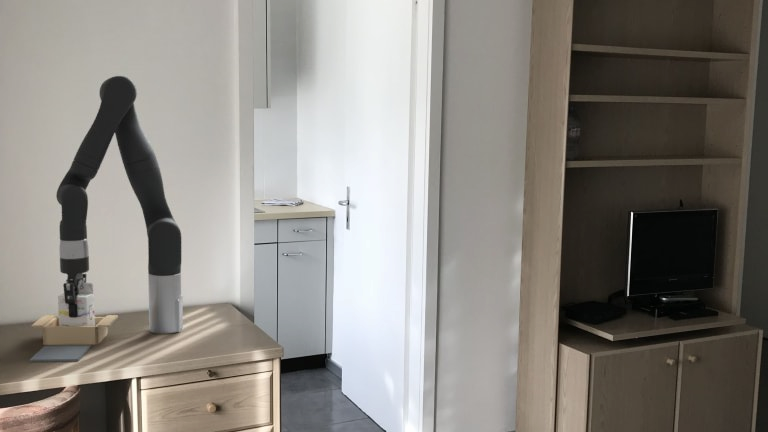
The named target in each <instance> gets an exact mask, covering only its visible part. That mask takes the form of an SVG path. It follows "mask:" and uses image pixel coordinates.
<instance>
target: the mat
mask: <svg viewBox="0 0 768 432" xmlns="http://www.w3.org/2000/svg"><path fill="white" fill-rule="evenodd" d="M91 348H92V346H91V345H44V346H43V347H42V348H41V349H40V350H38V351H37V352H36V353H35V354H34V355H33V356H32V357H31V358H30V359H29V363H31V362H38V363H40V362H41V363H42V362H43V363H44V362H47V363H48V362H79V361H80V360H81V359H82V358H83V356H85V355H86V353H87V352H89V350H90V349H91Z"/></svg>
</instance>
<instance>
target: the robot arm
mask: <svg viewBox="0 0 768 432" xmlns="http://www.w3.org/2000/svg"><path fill="white" fill-rule="evenodd" d="M137 95H138V92H137V88H136V84H135V83H134V82H133V80H131V79H130V78H128V77H126V76H123V75H116V76H112V77H109V78H107V79H106V80H104V81H103V82H102V83H101V86H100V88H99V97H100V98H99V99H100V101H101V102H100V106H99V108H98V111H97V114H96V116H95V118H94V121H93V123H92V124H91V126H90V128H89V129H88V131H87V133H86V134H85V136H84V137H83V140H82V141H81V143H80V145H79V148H78V149H77V151H76V154H75V155H74V158H73V161H72V162H71V165H70V167H69V169H68V171H67V172H66V173H65V175H64V177H63V178H62V181H61V182H60V183H59V185H58V188H57V190H56V197H55V198H56V200H57V202H58V204H59V205H61V220H60V222H59V248H58V249H59V267H60V268H59V270H60V271H59V272H61V274H64V275H67V279H66V281H65V282H64V283H63V285H62V286H63V293H64V296H65V303H66V304H68V306H69V317H71V318H73V317H77V316H78V307H77V303H78V299H77V297H78V296H79V295H80V290H81V289H84V287H83V284H84V283H87V272H89V270H90V258H89V257H90V256H89V254H90V253H89V244H88V230H87V228H88V227H87V217H88V211H89V210H88V207H89V197H88V193H87V191H86V190H87V188H88V186H89V183H90V182H91V181H92V180H93V179H94V178H95V177H96V176H97V174H98V172H99V170H100V168H101V165H102V164H103V161H104V158H105V157H106V153H107V152H108V149H109V147H110V144H111V142H112V139H113V138H114V136H115V138H116V143H117V147H118V150H119V153H120V154H119V155H120V157H121V160H122V165H123V168H124V170H125V174H126V177H127V179H128V181H129V183H130V186H131V188H132V191H133V192H134V194H135V196H136V198H137V200H138V202H139V205H140V207H141V210H142V214H143V218H144V223H145V229H146V235H147V243H148V246H147V247H148V250H147V251H148V252H147V253H148V254H147V255H148V257H147V258H148V260H147V261H148V263H147V265H148V266H147V271H148V272H147V273H148V280H147V281H148V327H149V328H148V331H149V332H150V333H153V334H158V335H159V334H161V335H162V334H174V333H181V331H182V329H183V327H184V322H183V321H184V318H183V316H184V313H183V309H184V308H183V295H182V273H181V272H182V271H181V270H182V233H181V229H180V227H179V226H178V223H177V222H176V220H175V218H174V216H173V214H172V212H171V210H170V207H169V205H168V202H167V198H166V195H165V187H164V182H163V178H162V173H161V168H160V165H159V162H158V160H157V155H156V153H155V150H154V148H153V146H152V144H151V142H150V140H149V138H148V136H147V135H146V133H145V131H144V130H143V128H142V126H141V123H140V121H139V118H138V114H137V111H136V108H135V107H136V106H135V101H136V98H137ZM71 296H72V299H70V298H71Z"/></svg>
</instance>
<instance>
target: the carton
mask: <svg viewBox="0 0 768 432" xmlns="http://www.w3.org/2000/svg"><path fill="white" fill-rule="evenodd" d="M118 318H119V315H118V314H117V315H116V314H109V315H108V314H107V315H106V316H95V326H59V316H56V315H55V314H54V315H53V314H51V315H49V314H47V315H45V314H44V315H42V317H40V318H39V319H38V320H36V321H35V322H33V324H31V328H42V337H43V339H42V341H43V342H42V343H43V344H42V345H44V346H59V345H95V346H96V345H100V343H101V342H102V341H103V340H105V338H106V336H107V335H108V334H109V328H110V327H111V326H112V325H113V323H114V322H115V321H116V320H117V319H118Z"/></svg>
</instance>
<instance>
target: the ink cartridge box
mask: <svg viewBox="0 0 768 432" xmlns="http://www.w3.org/2000/svg"><path fill="white" fill-rule="evenodd" d="M93 285H94V284H93V283H92V282H86V283H84V284H83V287H84V289H81V290H80V295H79V296H78V297H77V299H78V303H77V307H78V316H77V317H73V318H71V317H69V306H68V304H66V303H65V296H64V292H63V293H62V294H59V295H58V296H57V303H58V305H57V306H58V308H57V309H58V317H59V326H95V317H96V315H95V294H94V286H93ZM70 299H72V296H71V298H70Z"/></svg>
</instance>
